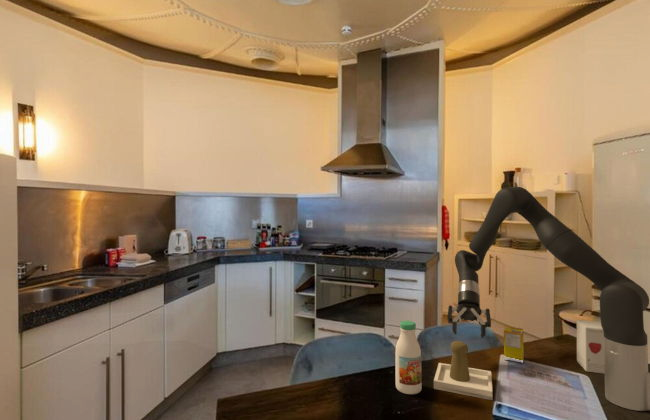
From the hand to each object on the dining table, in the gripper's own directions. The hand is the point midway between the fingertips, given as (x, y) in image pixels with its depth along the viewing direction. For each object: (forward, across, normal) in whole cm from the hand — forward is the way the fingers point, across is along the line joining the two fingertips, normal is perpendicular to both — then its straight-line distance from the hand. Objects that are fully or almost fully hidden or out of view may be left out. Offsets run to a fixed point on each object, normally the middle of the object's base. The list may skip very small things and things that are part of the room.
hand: (468, 335), depth 118 cm
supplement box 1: (-2, +14, +18) cm, 23 cm away
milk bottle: (+24, -17, -8) cm, 30 cm away
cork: (+15, -3, 0) cm, 15 cm away
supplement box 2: (-4, +40, +20) cm, 45 cm away
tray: (+17, -2, -1) cm, 17 cm away
